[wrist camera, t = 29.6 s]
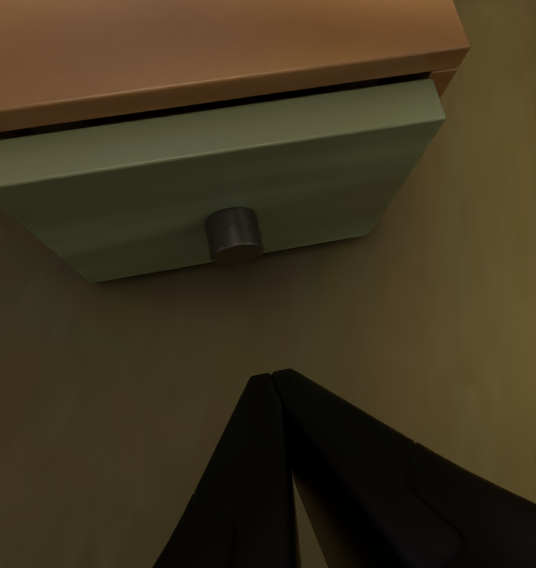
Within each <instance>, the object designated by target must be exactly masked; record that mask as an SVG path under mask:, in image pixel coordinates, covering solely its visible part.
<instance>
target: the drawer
mask: <svg viewBox="0 0 536 568" xmlns="http://www.w3.org/2000/svg"><path fill="white" fill-rule="evenodd" d="M379 80H380V79H373V80H365V81H358V82H351V83H344V84H337V85H330V86H323V87H316V88H309V89H302V90H295V91H287V92H280V93H273V94H266V95H259V96H252V97H245V98H238V99H231V100H224V101H217V102H209V103H202V104H195V105H188V106H181V107H174V108H167V109H160V110H153V111H146V112H139V113H131V114H124V115H117V116H110V117H103V118H96V119H89V120H82V121H75V122H68V123H61V124H54V125H46V126H39V127H32V128H31V129H32V131H33V132H34V133H35V135H30V136H23V137H16V138H9V139H2V140H0V207H1V208H3V209H4V210H5V211H6V212H7V213H8V214H10V215H11V216H12V217H13V218H14V219H15V220H17V221H18V222H19V223H20V224H21V225H22V226H24V227H25V228H26V229H27V230H28V231H29V232H31V233H32V234H33V235H34V236H35V237H36V238H38V239H39V240H40V241H41V242H42V243H43V244H45V245H46V246H47V247H48V248H49V249H50V250H52V251H53V252H54V253H55V254H56V255H57V256H59V257H60V258H61V259H62V260H63V261H64V262H66V263H67V264H68V265H69V266H70V267H71V268H73V269H74V270H75V271H76V272H77V273H78V274H80V275H81V276H82V277H83V278H84V279H85V280H87V281H88V282H89V283H96V282H102V281H108V280H113V279H119V278H125V277H130V276H136V275H142V274H147V273H153V272H159V271H164V270H170V269H176V268H181V267H187V266H193V265H199V264H204V263H210V262H214V263H216V264H220V265H234V264H240V263H245V262H248V261H251V260H253V259H255V258H257V257H259V256H260V255H261V254H262V253H267V252H272V251H278V250H284V249H290V248H295V247H301V246H307V245H312V244H318V243H324V242H329V241H335V240H341V239H346V238H352V237H358V236H363V235H369V234H370V232H371V231H372V229H373V228H374V226H375V225H376V223H377V222H378V220H379V219H380V217H381V216H382V214H383V213H384V211H385V210H386V208H387V207H388V205H389V204H390V202H391V201H392V199H393V198H394V196H395V195H396V193H397V192H398V190H399V189H400V187H401V186H402V184H403V183H404V181H405V180H406V178H407V177H408V175H409V174H410V172H411V171H412V169H413V168H414V166H415V165H416V163H417V162H418V160H419V159H420V157H421V156H422V154H423V153H424V151H425V150H426V148H427V147H428V145H429V144H430V142H431V141H432V139H433V138H434V136H435V135H436V133H437V132H438V130H439V129H440V127H441V126H442V124H443V123H444V121H445V120H446V115H445V112H444V109H443V106H442V104H441V101H440V98H439V95H438V93H437V90H436V87H435V84H434V82H433V79H431V78H429V79H422V80H415V81H408V82H401V83H394V84H387V85H380V86H377V85H378V82H379Z"/></svg>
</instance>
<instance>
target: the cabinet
mask: <svg viewBox="0 0 536 568" xmlns="http://www.w3.org/2000/svg"><path fill="white" fill-rule="evenodd" d="M469 49H470V42H469V40H468V37H467V35H466V32H465V30H464V27H463V25H462V22H461V20H460V17H459V15H458V12H457V10H456V7H455V5H454V2H453V0H0V140H2V139H9V138H16V137H23V136H30V135H35V133H34V132H33V131H32V129H31V128H32V127H39V126H46V125H54V124H61V123H68V122H75V121H82V120H89V119H96V118H103V117H110V116H117V115H124V114H131V113H139V112H146V111H153V110H160V109H167V108H174V107H181V106H188V105H195V104H202V103H209V102H217V101H224V100H231V99H238V98H245V97H252V96H259V95H266V94H273V93H280V92H287V91H295V90H302V89H309V88H316V87H323V86H330V85H337V84H344V83H351V82H358V81H365V80H373V79H380V80H379V82H378V85H377V86H380V85H387V84H394V83H401V82H408V81H415V80H422V79H429V78H431V79H433V82H434V84H435V87H436V90H437V93H438V95H439V98H441V96H442V94H443V93H444V91H445V89H446V88H447V86H448V84H449V83H450V81H451V79H452V78H453V76H454V74H455V73H456V71H457V67H458V66H459V65H460V64H461V62H462V60H463V59H464V57H465V55H466V54H467V52H468V50H469Z"/></svg>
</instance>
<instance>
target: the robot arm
mask: <svg viewBox="0 0 536 568" xmlns="http://www.w3.org/2000/svg"><path fill="white" fill-rule="evenodd" d="M291 472H292V473H291ZM292 475H293V479H294V482H295V484H296V487H297V490H298V492H299V495H300V497H301V500H302V502H303V505H304V507H305V510H306V513H307V515H308V518H309V520H310V523H311V525H312V528H313V530H314V533H315V535H316V538H317V540H318V543H319V545H320V548H321V550H322V553H323V555H324V558H325V560H326V563H327V565H328V568H536V504H535V503H533V502H531V501H529V500H527V499H525V498H523V497H520V496H518V495H516V494H514V493H512V492H510V491H508V490H506V489H504V488H502V487H500V486H498V485H496V484H494V483H492V482H490V481H488V480H485V479H483V478H481V477H479V476H477V475H475V474H473V473H471V472H469V471H467V470H465V469H464V468H462V467H460V466H458V465H456V464H455V463H453V462H451V461H449V460H447V459H446V458H444V457H442V456H440V455H438V454H437V453H435V452H433V451H432V450H430V449H428V448H426V447H425V446H423V445H421V444H420V443H415V442H414V441H413V440H411V439H410V438H408V437H406V436H405V435H403V434H401V433H400V432H398V431H396V430H395V429H393V428H391V427H390V426H388V425H386V424H384V423H383V422H381V421H379V420H378V419H376V418H374V417H373V416H371V415H369V414H368V413H366V412H364V411H362V410H361V409H359V408H357V407H356V406H354V405H352V404H351V403H349V402H347V401H346V400H344V399H342V398H341V397H339V396H337V395H335V394H334V393H332V392H330V391H329V390H327V389H325V388H324V387H322V386H320V385H319V384H317V383H315V382H313V381H312V380H310V379H308V378H307V377H305V376H303V375H302V374H300V373H298V372H297V371H295V370H293V369H290V368H289V369H284V370H279V371H275V372H273V373H272V376H271V374H269V373H264V374H259V375H255V376H251V377H250V378H249V380H248V382H247V385H246V387H245V389H244V391H243V393H242V395H241V397H240V399H239V401H238V403H237V405H236V407H235V409H234V411H233V413H232V415H231V418H230V420H229V422H228V424H227V426H226V428H225V430H224V432H223V434H222V436H221V438H220V440H219V442H218V444H217V446H216V448H215V450H214V453H213V455H212V457H211V459H210V461H209V463H208V465H207V467H206V469H205V471H204V473H203V475H202V477H201V479H200V481H199V483H198V485H197V488H196V490H195V493H194V494H192V496H191V498H190V500H189V503H188V505H187V507H186V509H185V511H184V513H183V515H182V517H181V519H180V520H179V522H178V524H177V526H176V528H175V530H174V532H173V534H172V536H171V537H170V539H169V541H168V543H167V544H166V546H165V548H164V549H163V551H162V552H161V554H160V556H159V557H158V559H157V561H156V562H155V564H154V566H153V567H152V568H302V565H301V556H300V546H299V536H298V526H297V516H296V507H295V497H294V488H293V480H292Z"/></svg>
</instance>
